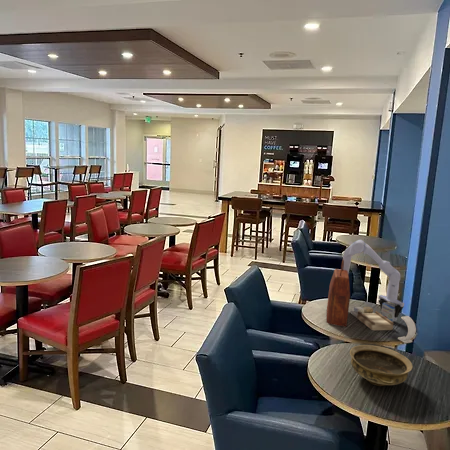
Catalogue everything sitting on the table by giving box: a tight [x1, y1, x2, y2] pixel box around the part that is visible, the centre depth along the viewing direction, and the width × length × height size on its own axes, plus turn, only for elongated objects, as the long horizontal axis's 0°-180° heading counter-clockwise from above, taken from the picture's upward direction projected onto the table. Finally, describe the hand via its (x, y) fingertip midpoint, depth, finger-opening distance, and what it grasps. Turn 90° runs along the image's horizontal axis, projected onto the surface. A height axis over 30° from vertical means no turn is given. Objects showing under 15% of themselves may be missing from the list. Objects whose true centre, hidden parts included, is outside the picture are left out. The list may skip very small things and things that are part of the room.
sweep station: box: [349, 309, 394, 331], centre depth 228 cm, size 24×12×4 cm, turn 11°
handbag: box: [325, 258, 351, 328], centre depth 225 cm, size 10×19×35 cm, turn 166°
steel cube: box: [353, 306, 364, 314], centre depth 236 cm, size 4×4×4 cm
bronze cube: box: [362, 306, 374, 313], centre depth 237 cm, size 4×4×4 cm
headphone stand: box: [397, 315, 417, 344], centre depth 205 cm, size 5×6×12 cm
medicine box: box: [380, 301, 398, 323], centre depth 231 cm, size 8×4×9 cm, turn 34°
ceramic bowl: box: [349, 344, 413, 387], centre depth 165 cm, size 30×24×10 cm
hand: (389, 314), depth 232 cm, fingers closed on medicine box, 7 cm apart
